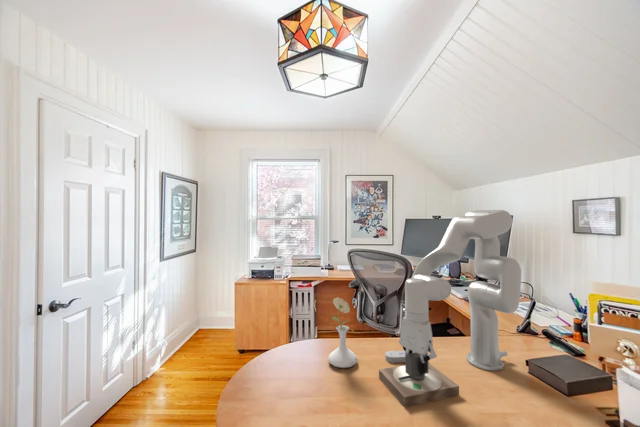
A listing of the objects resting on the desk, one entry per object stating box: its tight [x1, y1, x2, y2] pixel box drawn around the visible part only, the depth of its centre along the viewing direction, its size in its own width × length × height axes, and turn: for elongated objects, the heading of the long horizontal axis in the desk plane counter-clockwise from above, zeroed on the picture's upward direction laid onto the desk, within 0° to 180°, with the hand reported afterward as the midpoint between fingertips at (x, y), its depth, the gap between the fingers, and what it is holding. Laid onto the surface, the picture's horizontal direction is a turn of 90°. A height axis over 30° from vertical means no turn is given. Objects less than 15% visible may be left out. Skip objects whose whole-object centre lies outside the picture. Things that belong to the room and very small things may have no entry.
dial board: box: [378, 362, 460, 408], centre depth 95 cm, size 20×16×3 cm
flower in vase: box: [327, 297, 358, 369], centre depth 111 cm, size 13×11×25 cm
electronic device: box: [384, 350, 416, 364], centre depth 113 cm, size 5×10×15 cm
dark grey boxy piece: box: [399, 353, 429, 380], centre depth 95 cm, size 10×5×7 cm, turn 108°
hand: (416, 369), depth 95 cm, fingers closed on dark grey boxy piece, 4 cm apart
